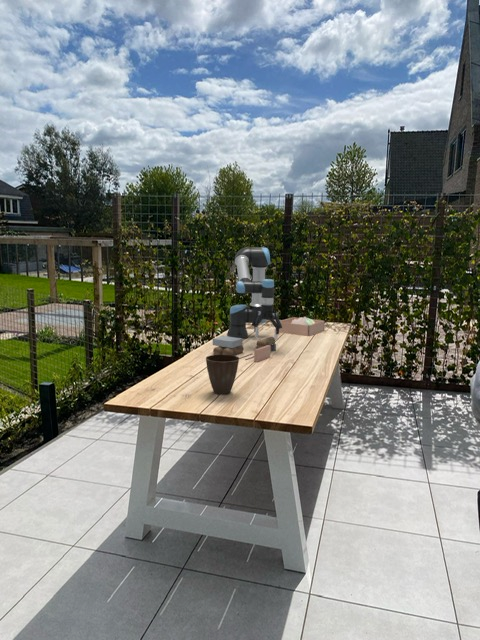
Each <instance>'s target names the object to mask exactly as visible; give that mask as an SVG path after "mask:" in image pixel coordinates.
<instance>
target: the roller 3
mask: <svg viewBox="0 0 480 640" xmlns="http://www.w3.org/2000/svg"><path fill="white" fill-rule="evenodd" d="M274 338H275V336H274V337H273V336H269V337H266V338H263V339H260V340H258V341H257V342H256V346H257V347H258V348H261V347H264V346H267V345H273V344H274V343H275V344H276V340H274Z"/></svg>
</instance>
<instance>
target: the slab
mask: <svg viewBox="0 0 480 640" xmlns="http://www.w3.org/2000/svg"><path fill="white" fill-rule="evenodd" d="M243 340H244V339H242V338H235V337H228V336H227V335H221V336H218V337H214V338H212V346H215V347H218V346H221V347H227V348H234V347H237V346H241V345H242V346H243Z"/></svg>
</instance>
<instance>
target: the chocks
mask: <svg viewBox="0 0 480 640" xmlns="http://www.w3.org/2000/svg"><path fill="white" fill-rule="evenodd" d="M243 353H244V351H243V352H241V353H238V354H235V355H233V356H237V355H241V354H243ZM212 355H215V354H214V353H213V354H212ZM221 355H223V354H221ZM251 355H253V353H250V354H247V355H244V356H240V357H239V360H240V359H244V358H245V357H248V358H245V361H247V360H250V359H254V355H253V356H251ZM249 356H251V357H249Z"/></svg>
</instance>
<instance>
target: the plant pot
mask: <svg viewBox="0 0 480 640" xmlns="http://www.w3.org/2000/svg"><path fill="white" fill-rule="evenodd" d="M239 358H240V357H239V356H237V355H235V356H233V355H213V354H212V355H208V356H206V357H205V362H206V368H207V374H208V378H209V382H210V385H211V388H212V390H213V393H214V394H216V395H220V396H221V395H224V396H225V395H228V394H230V393H231V391H232V390H233V389H232V388H233V386H234V383H235V380H236V377H237V373H238V367H239V361H240V359H239Z"/></svg>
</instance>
